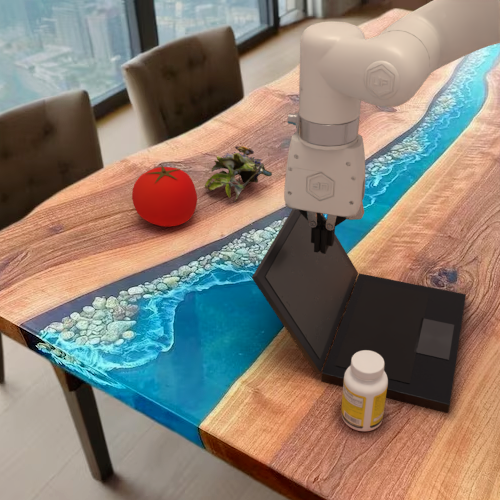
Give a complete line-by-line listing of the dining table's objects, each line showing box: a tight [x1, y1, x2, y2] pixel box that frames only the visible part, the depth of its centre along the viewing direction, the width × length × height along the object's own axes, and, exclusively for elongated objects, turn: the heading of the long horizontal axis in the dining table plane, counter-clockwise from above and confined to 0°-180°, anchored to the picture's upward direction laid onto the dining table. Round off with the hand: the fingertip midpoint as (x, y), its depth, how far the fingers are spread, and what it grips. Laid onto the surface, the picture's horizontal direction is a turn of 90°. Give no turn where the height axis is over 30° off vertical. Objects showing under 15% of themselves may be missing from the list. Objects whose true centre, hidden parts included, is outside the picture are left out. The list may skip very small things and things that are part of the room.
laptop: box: [320, 272, 467, 413], centre depth 95 cm, size 17×24×2 cm
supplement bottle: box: [340, 350, 388, 432], centre depth 81 cm, size 5×5×10 cm
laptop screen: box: [251, 209, 359, 375], centre depth 94 cm, size 17×24×1 cm
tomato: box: [131, 165, 198, 228], centre depth 121 cm, size 12×12×10 cm
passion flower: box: [204, 145, 273, 203], centre depth 130 cm, size 11×11×12 cm
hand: (322, 247), depth 91 cm, fingers closed
